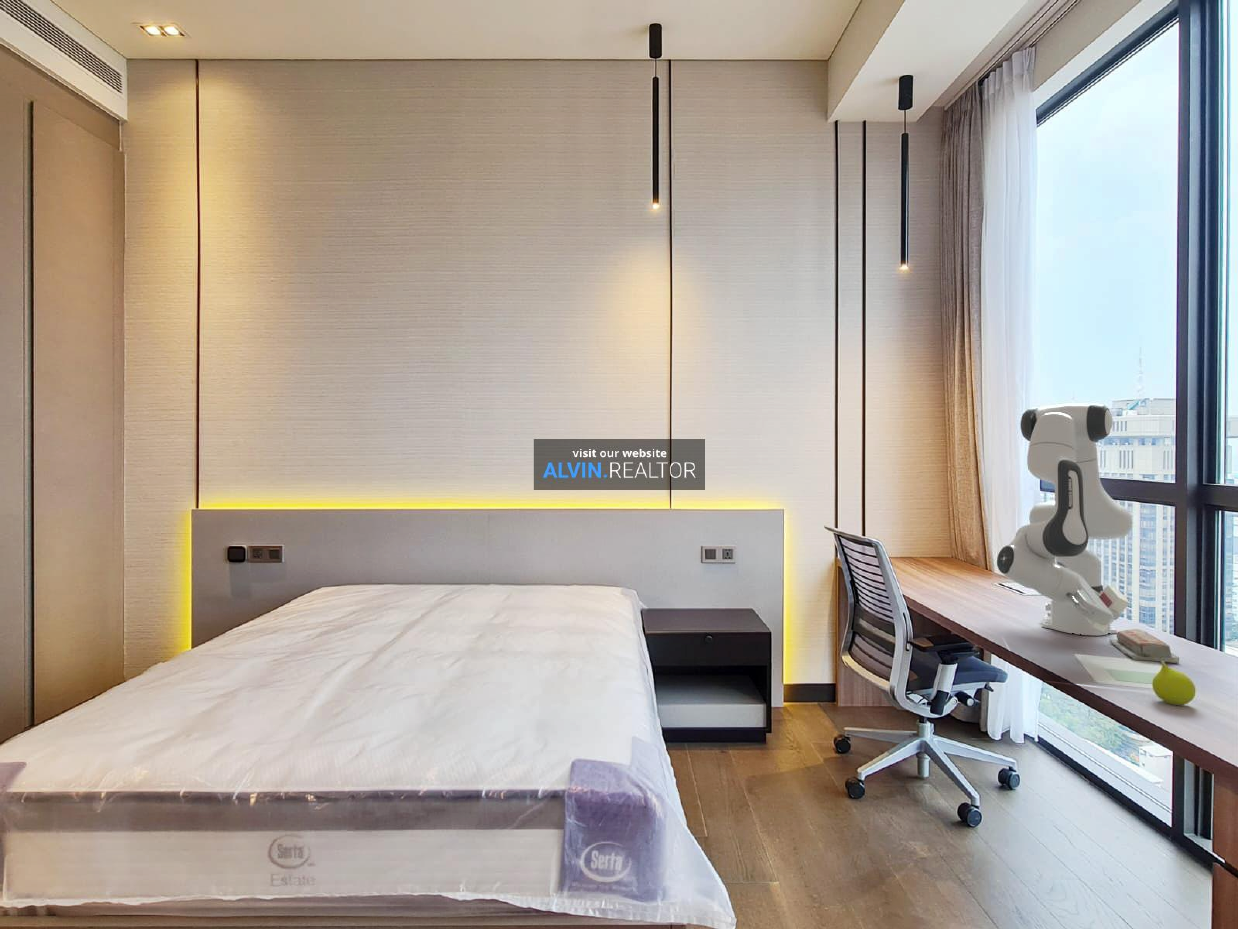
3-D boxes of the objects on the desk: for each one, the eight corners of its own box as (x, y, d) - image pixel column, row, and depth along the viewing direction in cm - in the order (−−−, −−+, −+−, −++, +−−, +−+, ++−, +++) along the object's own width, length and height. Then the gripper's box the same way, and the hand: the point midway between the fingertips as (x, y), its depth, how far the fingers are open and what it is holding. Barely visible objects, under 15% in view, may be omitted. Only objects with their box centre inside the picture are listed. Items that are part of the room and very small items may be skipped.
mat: (1073, 655, 176) (1073, 653, 176) (1157, 663, 169) (1157, 661, 169) (1096, 684, 154) (1096, 682, 154) (1194, 695, 147) (1194, 692, 147)
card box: (1082, 613, 175) (1107, 585, 171) (1093, 618, 175) (1119, 590, 171) (1092, 626, 170) (1118, 597, 166) (1103, 632, 170) (1130, 603, 166)
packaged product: (1180, 645, 166) (1132, 641, 170) (1180, 664, 166) (1133, 660, 170) (1151, 628, 183) (1108, 626, 187) (1151, 646, 183) (1108, 643, 186)
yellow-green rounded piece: (1145, 697, 146) (1144, 652, 146) (1181, 698, 145) (1181, 653, 145) (1165, 709, 139) (1165, 662, 139) (1203, 711, 138) (1203, 663, 138)
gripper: (1085, 597, 160) (1139, 622, 160) (1053, 556, 179) (1101, 578, 178) (1068, 616, 163) (1121, 641, 162) (1038, 574, 181) (1085, 596, 181)
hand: (1110, 608), depth 170 cm, fingers closed on card box, 6 cm apart
